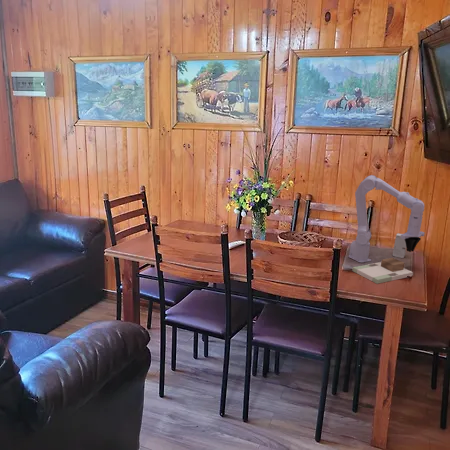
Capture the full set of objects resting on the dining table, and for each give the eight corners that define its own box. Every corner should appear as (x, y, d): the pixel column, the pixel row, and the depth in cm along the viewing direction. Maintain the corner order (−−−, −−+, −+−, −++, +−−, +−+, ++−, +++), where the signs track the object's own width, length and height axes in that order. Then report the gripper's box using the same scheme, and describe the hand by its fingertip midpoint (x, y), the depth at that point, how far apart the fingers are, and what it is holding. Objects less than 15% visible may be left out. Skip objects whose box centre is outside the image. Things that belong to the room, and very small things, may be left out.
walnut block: (380, 266, 218) (381, 259, 217) (391, 264, 222) (392, 257, 221) (392, 271, 212) (393, 265, 211) (403, 269, 215) (404, 262, 214)
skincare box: (391, 256, 239) (395, 234, 235) (393, 253, 243) (396, 232, 239) (403, 258, 236) (407, 237, 232) (405, 256, 240) (408, 235, 236)
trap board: (352, 271, 216) (352, 267, 215) (386, 264, 226) (387, 260, 226) (377, 283, 202) (377, 279, 202) (412, 276, 213) (413, 272, 212)
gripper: (411, 228, 209) (406, 255, 213) (431, 225, 215) (426, 251, 219) (399, 224, 215) (394, 250, 219) (419, 221, 221) (414, 247, 225)
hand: (409, 251), depth 220 cm, fingers closed
